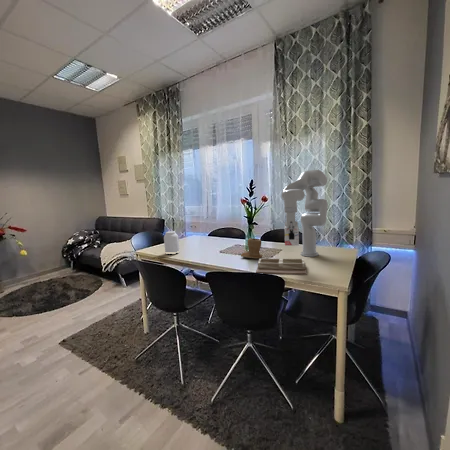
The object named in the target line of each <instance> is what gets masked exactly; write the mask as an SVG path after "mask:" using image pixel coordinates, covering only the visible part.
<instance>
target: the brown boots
mask: <svg viewBox="0 0 450 450" xmlns="http://www.w3.org/2000/svg"><path fill="white" fill-rule="evenodd" d="M247 248H248V252H243V253H241V254H240V257H242V258H247V259H258V260H259V259H262V258H263V255H262V254H261V253H260V250H261V248H262V239H260V238H251V237H250V238H248V240H247Z"/></svg>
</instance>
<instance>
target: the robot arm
mask: <svg viewBox="0 0 450 450" xmlns="http://www.w3.org/2000/svg"><path fill="white" fill-rule="evenodd" d="M327 182H328V178H327V175H326V174H325V173H324V172H323V171H321V170H320V169H311V170H305V171H302V172H301V174H300V175H299V177H298V179H297V180H295V181H293V182H291V183H289V184H287V185H286V186H285V187H284V189H283V190H282V192H281V199H282V201H284V203H283V204H284V214H286V218H285V219H286V221H285V222H287V229H288V228H289V240H294V228H295V221H296V213H297V212H298V203H297V202H299V201H303V199H305V202H304V210H305V211H306V212H304V213H302V214H301V215H300V223H301V224H300V225H301V229H302V230H301V231H302V236H301V237H302V251H301V252H300V256H303V257H310V258H311V257H317V256H319V252H317V231H316V229H315V228H314V227H324V226H325V225H326V222H327V215H328V208H329V206H328V202H327V200H326V199H325V198H319V193H318V191H317V189H315V188H316V187H325V186H326V185H327V184H328V183H327ZM314 187H315V188H314ZM292 227H293V228H292Z"/></svg>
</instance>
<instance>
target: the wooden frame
mask: <svg viewBox="0 0 450 450" xmlns="http://www.w3.org/2000/svg"><path fill="white" fill-rule="evenodd" d="M256 273H265V274H264V275H298V276H299V275H302V276H303V275H305V276H306V275H307V269H306V264H305V260H304V258H258V261H257V268H256V271H255V274H256Z"/></svg>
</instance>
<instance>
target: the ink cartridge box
mask: <svg viewBox="0 0 450 450" xmlns="http://www.w3.org/2000/svg"><path fill="white" fill-rule="evenodd" d="M298 223H299V222H298V221H296V220H295V228H294V240H289V228H288V229H287V222H286V221H285V222H284V245H285V247H286V246H300V245H299V244H300V237H299V236H300V231H299V224H298ZM292 228H293V227H292Z"/></svg>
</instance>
